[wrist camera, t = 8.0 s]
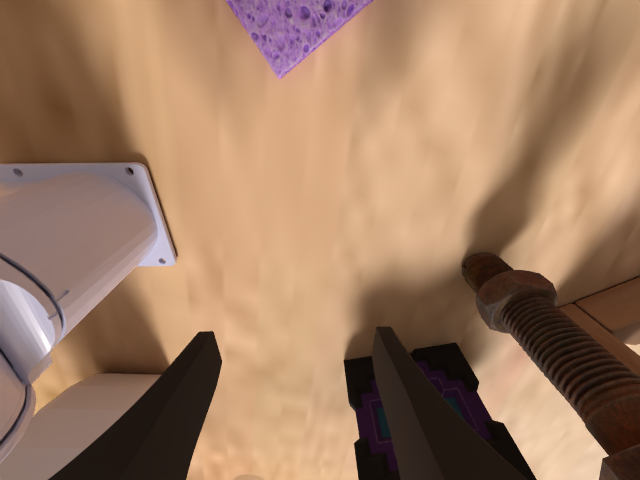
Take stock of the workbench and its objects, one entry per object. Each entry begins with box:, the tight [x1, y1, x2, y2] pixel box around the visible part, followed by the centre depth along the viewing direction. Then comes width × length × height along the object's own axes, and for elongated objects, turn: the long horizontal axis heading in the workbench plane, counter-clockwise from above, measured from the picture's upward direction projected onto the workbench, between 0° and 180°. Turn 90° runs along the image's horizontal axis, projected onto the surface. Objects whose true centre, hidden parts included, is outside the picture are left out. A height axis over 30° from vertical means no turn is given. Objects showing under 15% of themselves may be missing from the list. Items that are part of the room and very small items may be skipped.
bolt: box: [462, 253, 640, 480], centre depth 16 cm, size 6×5×15 cm
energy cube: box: [344, 343, 537, 480], centre depth 25 cm, size 12×12×12 cm
